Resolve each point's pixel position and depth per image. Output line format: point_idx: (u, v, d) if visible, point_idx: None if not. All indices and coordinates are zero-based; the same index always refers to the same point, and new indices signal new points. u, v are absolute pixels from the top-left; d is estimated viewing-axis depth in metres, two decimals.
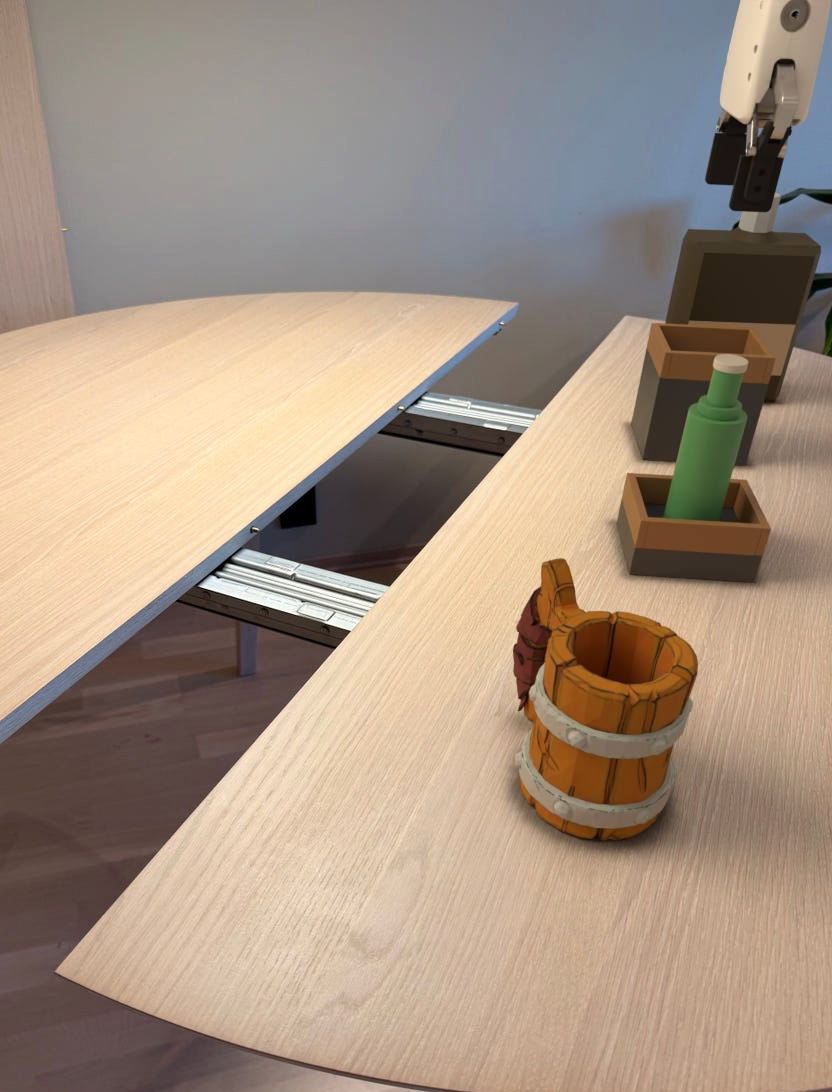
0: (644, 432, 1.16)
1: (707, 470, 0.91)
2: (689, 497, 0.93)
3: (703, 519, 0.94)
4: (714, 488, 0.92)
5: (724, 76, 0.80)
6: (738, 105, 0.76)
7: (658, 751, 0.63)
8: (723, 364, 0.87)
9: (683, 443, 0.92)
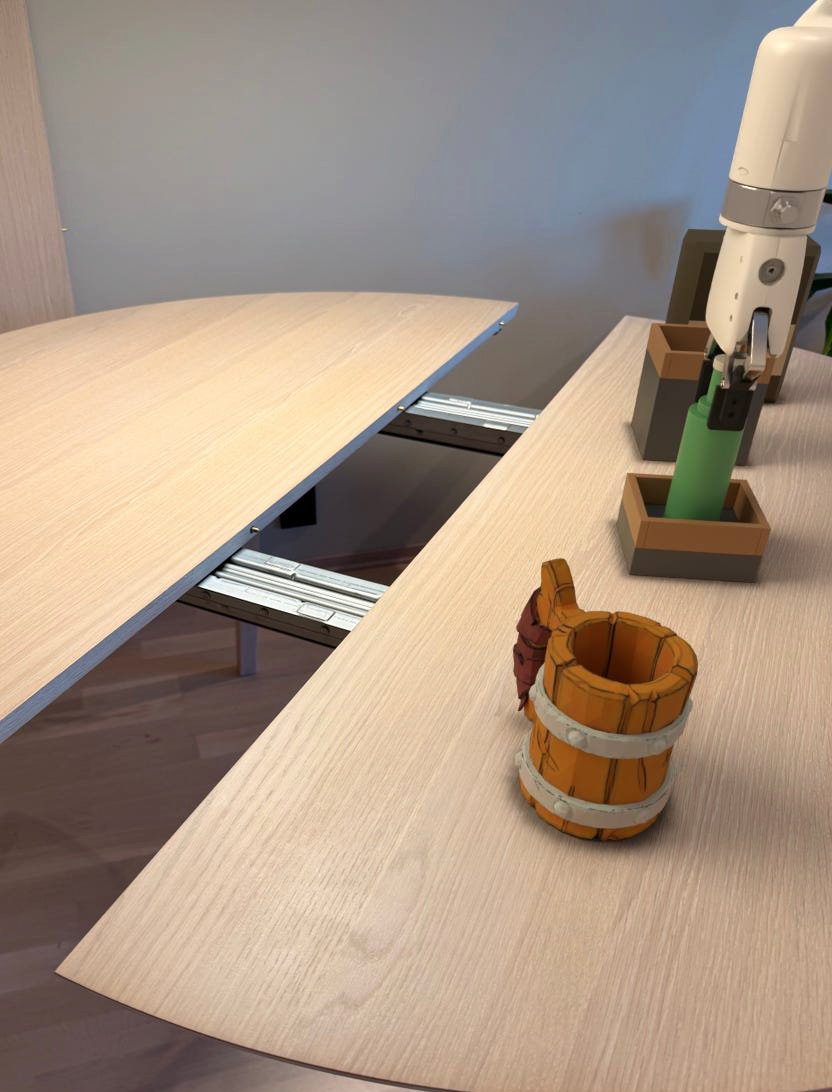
0: (644, 432, 1.16)
1: (707, 470, 0.91)
2: (689, 497, 0.93)
3: (703, 519, 0.94)
4: (714, 488, 0.92)
5: (709, 299, 0.88)
6: (721, 337, 0.84)
7: (658, 751, 0.63)
8: (723, 364, 0.87)
9: (683, 443, 0.92)
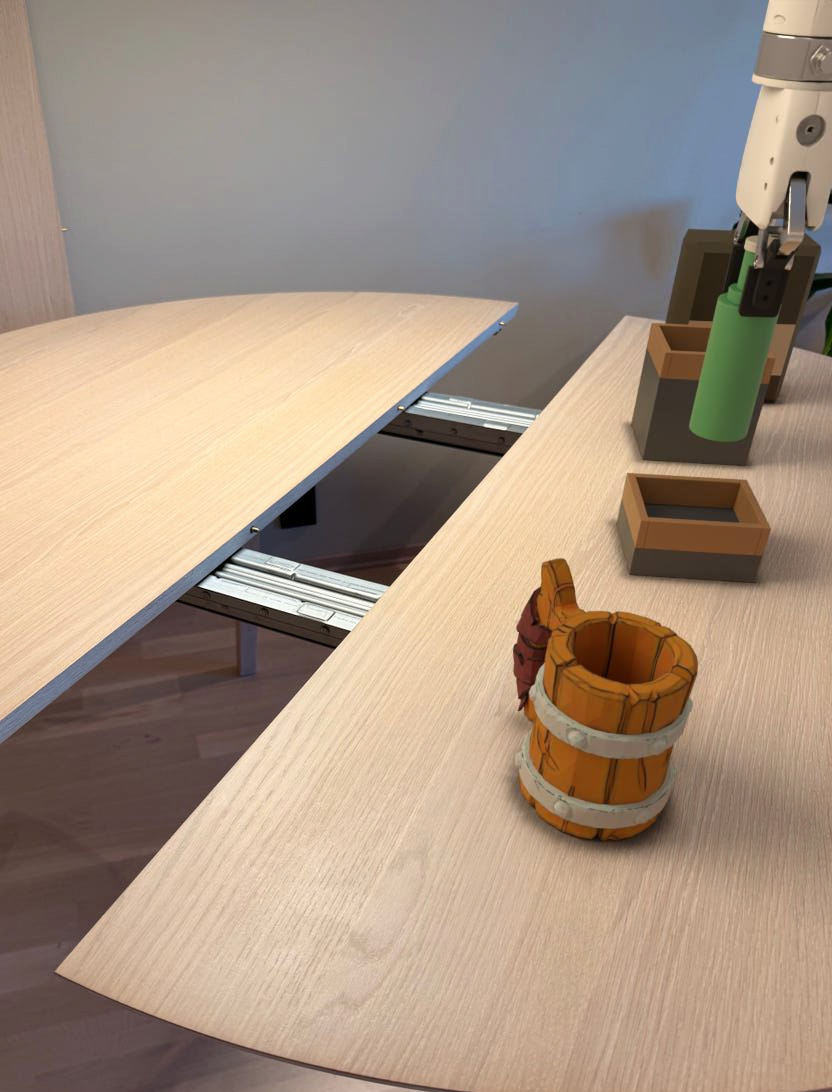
0: (644, 432, 1.16)
1: (738, 364, 0.85)
2: (718, 395, 0.87)
3: (733, 419, 0.88)
4: (746, 384, 0.86)
5: (740, 176, 0.82)
6: (755, 211, 0.78)
7: (658, 751, 0.63)
8: (756, 244, 0.81)
9: (711, 335, 0.86)
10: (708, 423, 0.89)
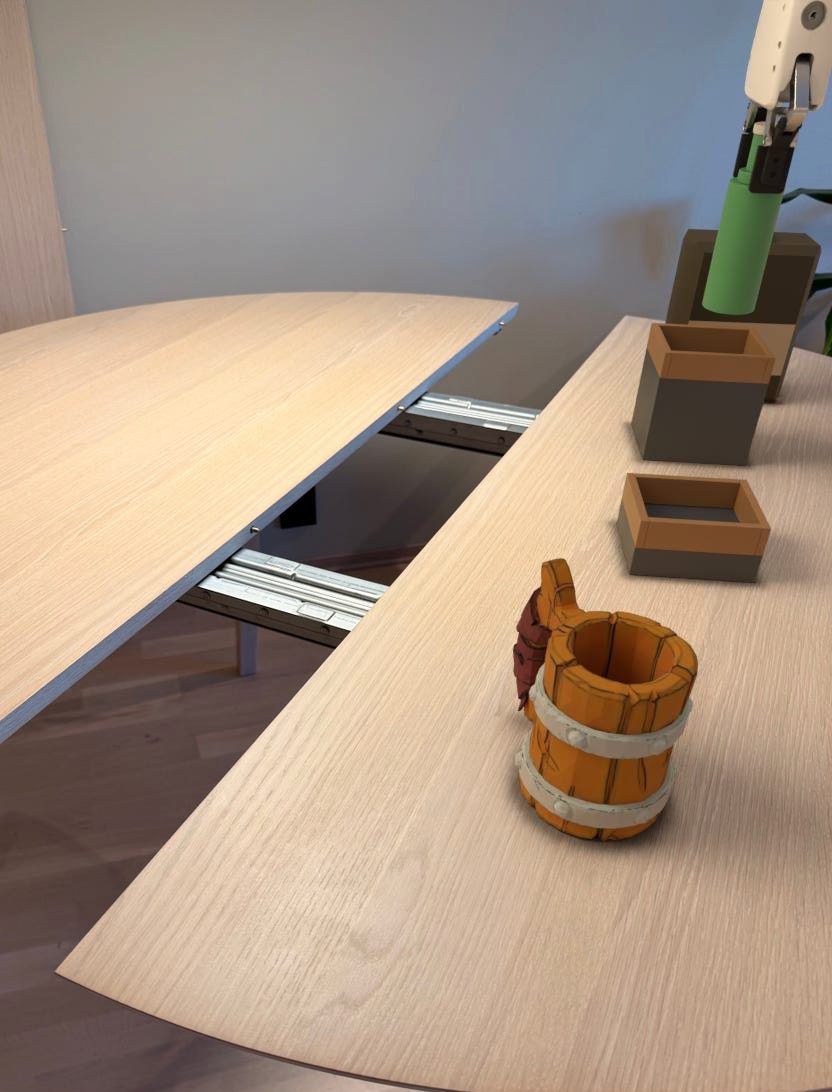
0: (644, 432, 1.16)
1: (747, 239, 0.95)
2: (730, 270, 0.98)
3: (743, 293, 0.98)
4: (754, 258, 0.97)
5: (749, 68, 0.92)
6: (763, 93, 0.88)
7: (658, 751, 0.63)
8: (763, 127, 0.91)
9: (723, 215, 0.96)
10: (720, 297, 0.99)
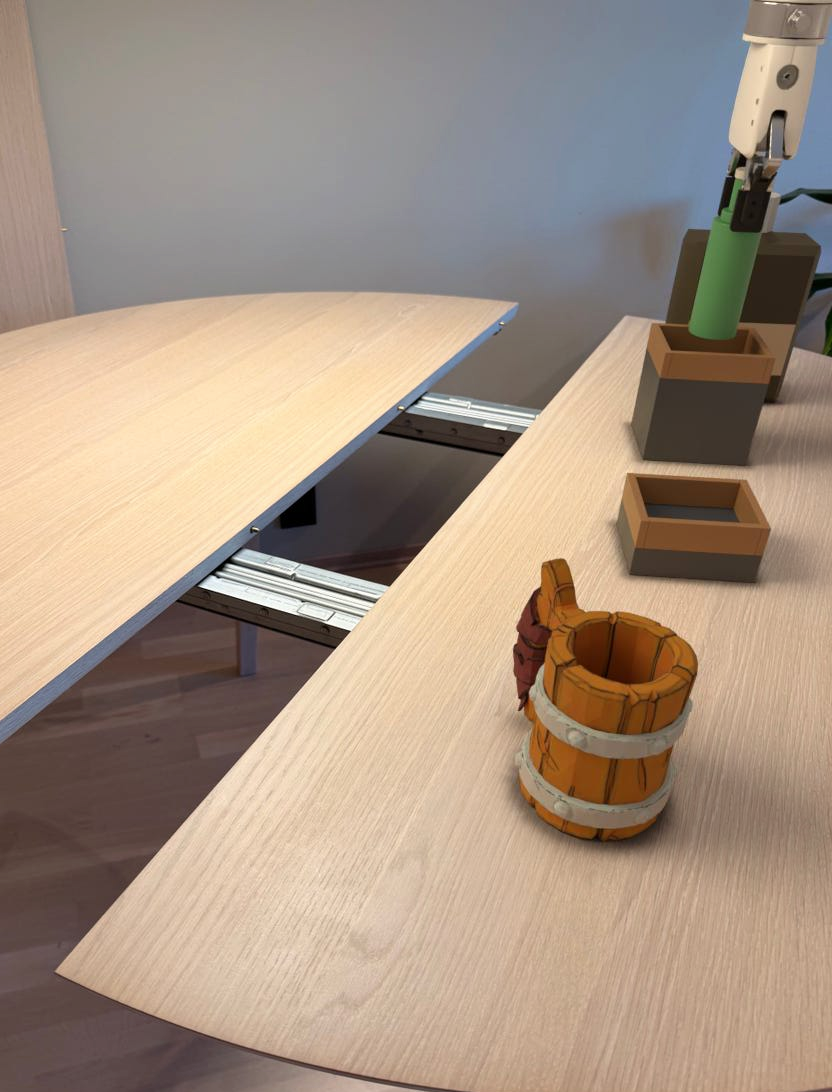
0: (644, 432, 1.16)
1: (729, 272, 1.05)
2: (713, 300, 1.07)
3: (724, 320, 1.08)
4: (735, 290, 1.06)
5: (732, 119, 1.02)
6: (743, 144, 0.98)
7: (658, 751, 0.63)
8: (744, 172, 1.01)
9: (707, 250, 1.06)
10: (704, 324, 1.09)
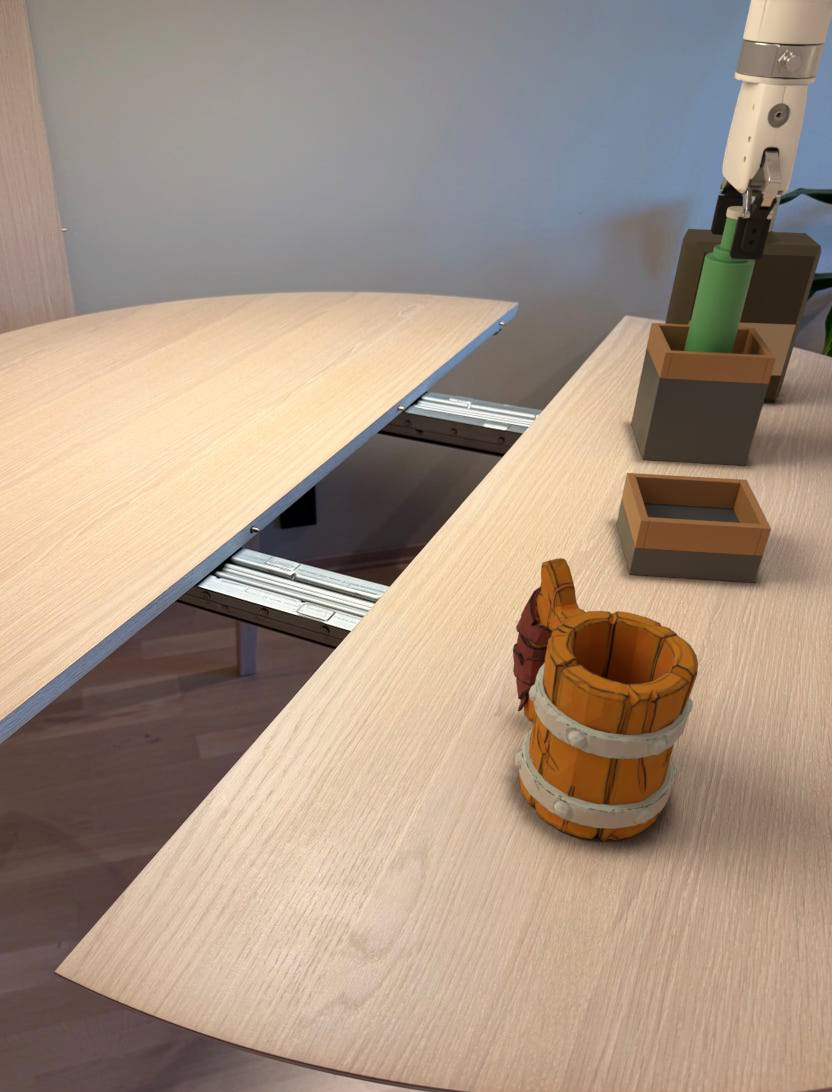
0: (644, 432, 1.16)
1: (721, 308, 1.07)
2: (705, 334, 1.10)
3: None
4: (727, 325, 1.09)
5: (725, 153, 1.04)
6: (736, 179, 1.00)
7: (658, 751, 0.63)
8: (735, 212, 1.03)
9: (700, 286, 1.08)
10: None
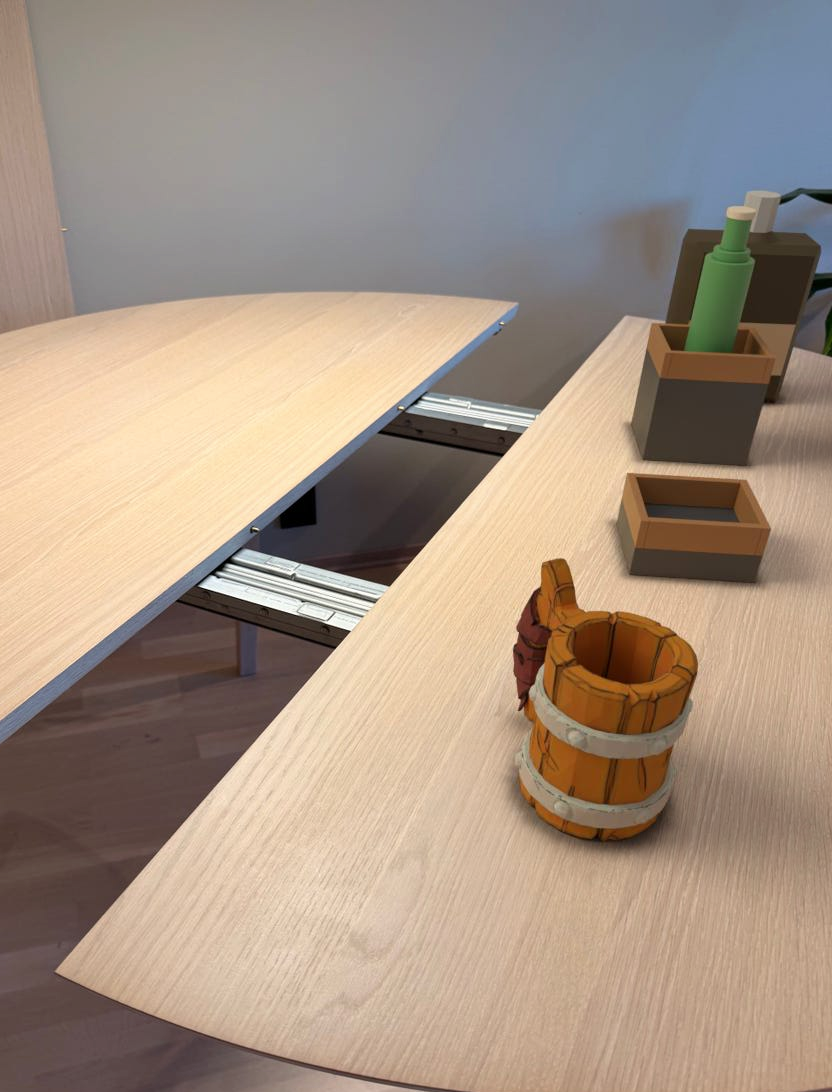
0: (644, 432, 1.16)
1: (721, 308, 1.07)
2: (705, 334, 1.10)
3: None
4: (727, 325, 1.09)
5: None
6: None
7: (658, 751, 0.63)
8: (735, 212, 1.03)
9: (700, 286, 1.08)
10: None
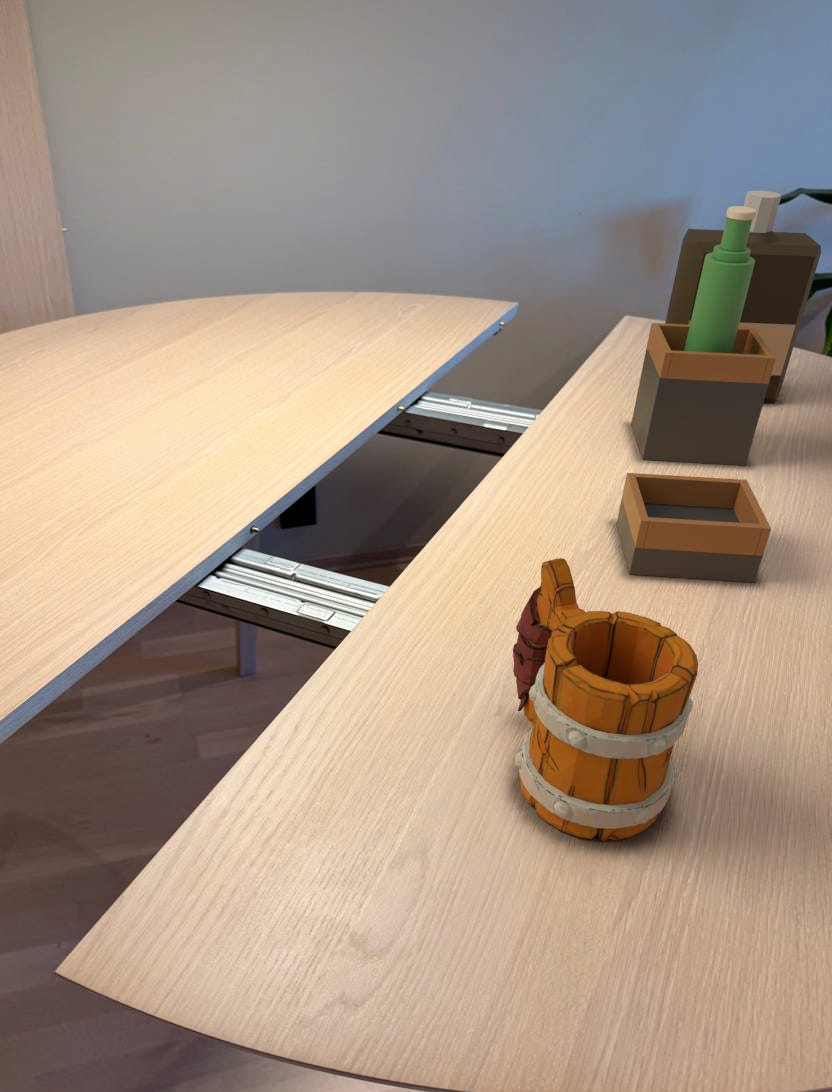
0: (644, 432, 1.16)
1: (721, 308, 1.07)
2: (705, 334, 1.10)
3: None
4: (727, 325, 1.09)
5: None
6: None
7: (658, 751, 0.63)
8: (735, 212, 1.03)
9: (700, 286, 1.08)
10: None
